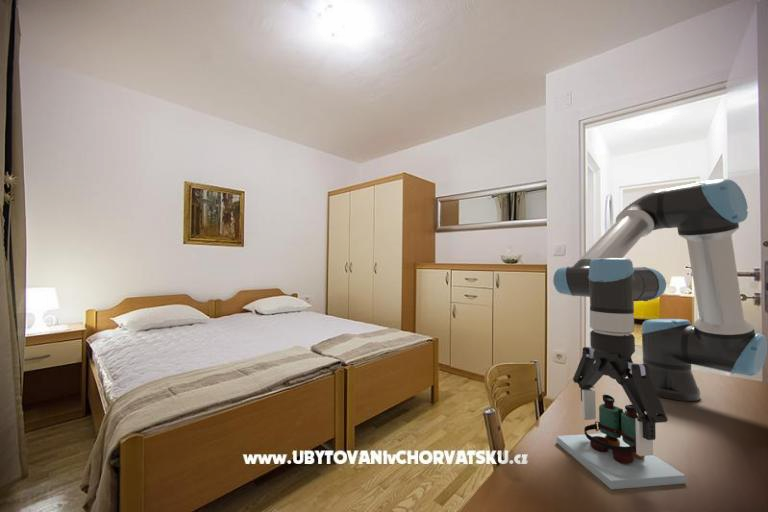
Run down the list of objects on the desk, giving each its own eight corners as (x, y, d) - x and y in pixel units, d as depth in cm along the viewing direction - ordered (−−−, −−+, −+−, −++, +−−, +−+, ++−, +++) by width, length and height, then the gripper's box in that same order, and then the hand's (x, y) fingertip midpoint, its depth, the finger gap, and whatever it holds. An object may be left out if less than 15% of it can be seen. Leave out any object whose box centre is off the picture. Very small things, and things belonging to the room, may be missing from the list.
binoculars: (575, 401, 67) (604, 389, 71) (579, 450, 67) (608, 436, 71) (620, 420, 59) (651, 406, 62) (625, 476, 59) (656, 458, 63)
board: (616, 438, 73) (616, 432, 73) (685, 483, 58) (685, 475, 58) (556, 442, 71) (556, 436, 71) (611, 489, 56) (611, 480, 56)
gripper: (692, 346, 53) (696, 473, 53) (583, 320, 78) (585, 406, 78) (652, 347, 53) (656, 476, 52) (555, 321, 77) (557, 408, 77)
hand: (614, 435), depth 65 cm, fingers open, 13 cm apart
